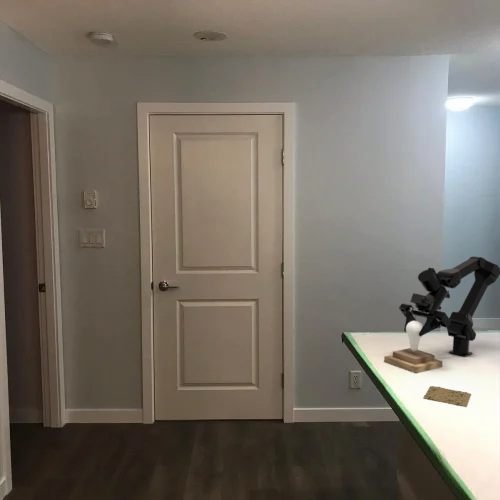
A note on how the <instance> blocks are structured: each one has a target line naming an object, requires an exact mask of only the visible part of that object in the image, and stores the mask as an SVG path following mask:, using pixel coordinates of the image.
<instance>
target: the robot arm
mask: <svg viewBox="0 0 500 500" xmlns="http://www.w3.org/2000/svg"><path fill="white" fill-rule="evenodd" d="M473 272H474V273H473ZM470 274H474V281H473V284H472V286H471V288H470V290H469V292H468V293H467V296H466V298H465V299H464V302H463V303H462V305H461V307H460V309H459V310H457V311H452V312H451V314H450V315H449V316H448V315H447V313H446V312H445V311H441V310H442V307H441V305H442V304H443V302H444V300H445V299H450V298H451V296H450V295H451V294H450V291H449V290H447V288H448V289H455V288H457V287H458V286H459V285H460V284H461V282H462V279H463V278H465V277H466V276H468V275H470ZM499 276H500V267H499V265H498V264H496V263H494V262H491V261H488V260H487V259H485V258H484V257H482V256H475V255H473V256H470V257H469V258H468V259H467V260H465V261H464V262H461V263H460V264H458V265H456V266H454V267H453V268H447V269H446V268H445V269H442V270H440V271H439V270H438V272H436V270H435V268H433V267H428V268H427V269H425V270H423V271H421V272H419V274H418V275H417V279H418V281H419V283H420V284H421V286H422V287H423V289H424V290H425V291H427V294H426V295H423V294H419V293H412V296H411V298H410V303H413V304H415V305H414V306H415V308H417V309H415V308H414V307H413V305H412V304H408V303H401V304H400V305H399V307H398V309H399V311H400V312H401V314H402V315H403V316H404V317H405V322H404V323H405V324H404V330H403V331H404V333H407V332H406V326H407V324H408V323H409V322H411V321H418V320H417V319H416V317H420V318H421V317H422V318H425V319H426V321H425V322H424V324H423V327H422V329H421V331H420V333H419V336H421V337H423V336H424V335H426V334H428V333H430V332H432V331H434V330H436V329H440V328H446V330H447V336H448V337H453V339H452V350H449V351H448V353H449V354H453V355H457V356H460V357H461V356H462V357H467V356H471V355H472V354H473V352H472V351H470V341H471V342H473V341H475V339H476V336H477V333H476V332H475V330H474V328H473V326H474V319H473V316H474V314H475V312H476V310H477V308H478V306H479V304H480V302H481V301H482V299H483V296H484V295H485V292H486V290H487V288H488V287H489V286H491V285H493V284H494V283H496V281H497V280H498V278H499Z"/></svg>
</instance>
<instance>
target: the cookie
mask: <svg viewBox="0 0 500 500" xmlns="http://www.w3.org/2000/svg"><path fill="white" fill-rule="evenodd" d="M471 396H472V393H471V392H470V393H469V392H468V391H461V390H457V389H456V390H454V389H449V388H445V387H441V386H434V385H431V386H429V388H428V389H427V391H426V393H425V394H424V396H423V398H422V399H424V400H429V401H432V402H438V403H442V404H443V403H444V404H448V405H453V406H459V407H463V408H467V406H469V405H468V404H469V401H470V400H471Z"/></svg>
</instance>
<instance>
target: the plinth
mask: <svg viewBox="0 0 500 500" xmlns="http://www.w3.org/2000/svg"><path fill="white" fill-rule="evenodd" d="M383 357H384V358H383V363H386V364H388V365H389V364H390V365H391V366H395V367H397V368H399V369H403V370H405V371H408V372H412V373H414V374H419V373H424V372H425V371H426V372H427V371H431V370H434V369H439V368H442V367H443V360H441V359H436V358H435V354H432V353H429V352H426V351H423V350H420V349H418V350H417V351H412V350H411V349H410V347H409V348H404V349H399V350H394V351H392V354H391V355H390V354H389V355H385V356H383Z"/></svg>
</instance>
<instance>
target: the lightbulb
mask: <svg viewBox="0 0 500 500" xmlns="http://www.w3.org/2000/svg"><path fill="white" fill-rule="evenodd" d="M423 326H424V324H423V323H422V322H421V321H418V320H417V321H411V322H409V323H408V324H407V326H406V332H405V333H406V334H407V337H408V339H409V344H410V347H409V348H410V349H411V350H412V351H417V350H419V344H420V340H421V338H422V336H419V333H420V331H421V329H422V327H423Z"/></svg>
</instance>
